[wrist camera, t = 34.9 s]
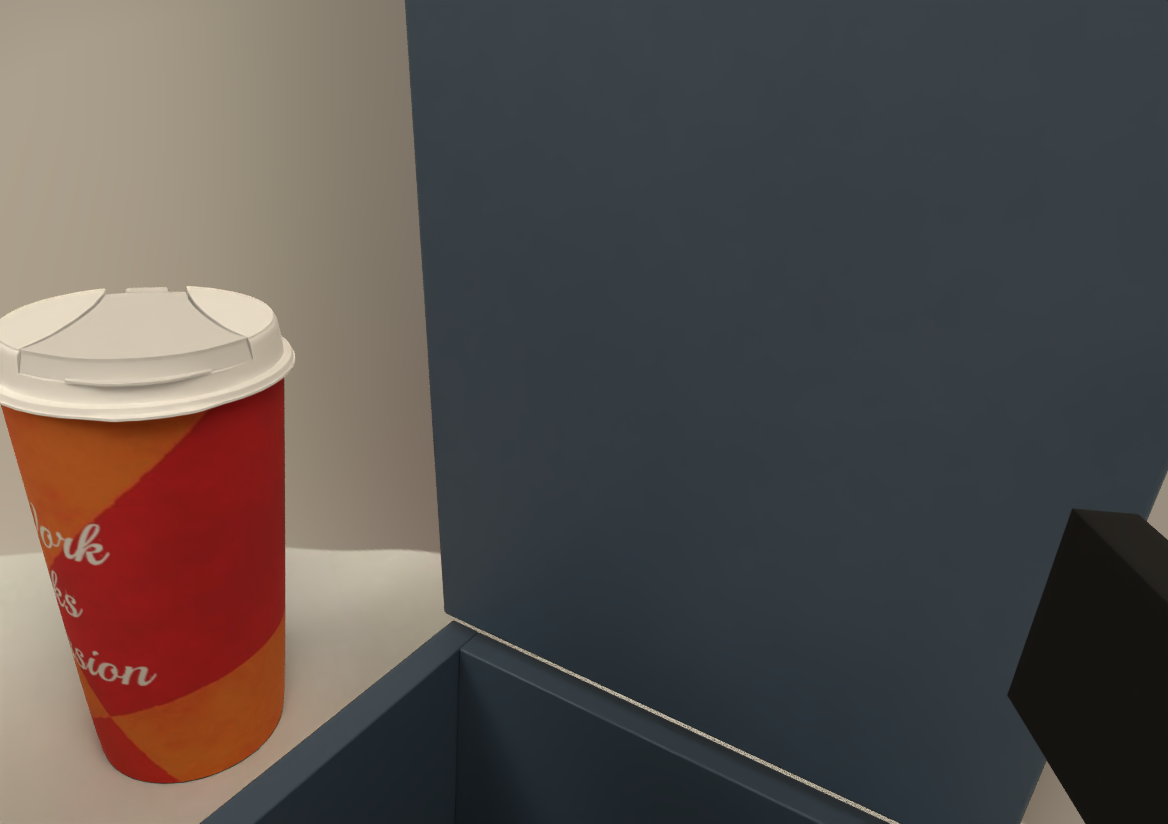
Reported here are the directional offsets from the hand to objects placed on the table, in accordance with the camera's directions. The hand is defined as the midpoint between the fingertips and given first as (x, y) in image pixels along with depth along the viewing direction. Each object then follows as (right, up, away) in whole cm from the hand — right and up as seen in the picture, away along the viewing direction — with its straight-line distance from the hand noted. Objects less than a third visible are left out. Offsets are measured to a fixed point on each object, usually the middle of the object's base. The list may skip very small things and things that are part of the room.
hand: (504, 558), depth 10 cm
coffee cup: (-13, -9, +20) cm, 26 cm away
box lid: (+3, +2, +4) cm, 5 cm away
